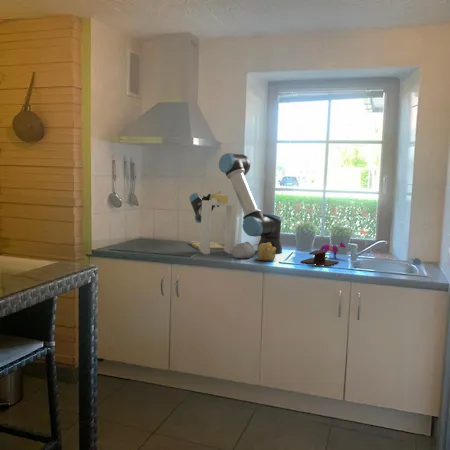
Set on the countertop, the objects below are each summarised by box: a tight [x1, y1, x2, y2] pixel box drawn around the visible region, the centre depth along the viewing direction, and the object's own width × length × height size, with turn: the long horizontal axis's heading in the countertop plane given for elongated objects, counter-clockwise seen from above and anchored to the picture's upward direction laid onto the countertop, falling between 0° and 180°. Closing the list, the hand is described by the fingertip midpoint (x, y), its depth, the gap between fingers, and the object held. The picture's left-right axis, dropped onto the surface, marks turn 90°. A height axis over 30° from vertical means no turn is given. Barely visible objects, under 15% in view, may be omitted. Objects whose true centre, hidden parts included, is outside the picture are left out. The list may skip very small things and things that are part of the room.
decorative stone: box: [231, 241, 256, 259], centre depth 268 cm, size 17×10×10 cm
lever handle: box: [300, 249, 340, 267], centre depth 259 cm, size 16×7×20 cm
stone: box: [256, 242, 276, 262], centre depth 261 cm, size 13×10×10 cm
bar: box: [210, 193, 229, 203], centre depth 277 cm, size 22×4×4 cm, turn 18°
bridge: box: [199, 198, 238, 255], centre depth 277 cm, size 10×18×32 cm, turn 108°
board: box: [188, 240, 224, 251], centre depth 298 cm, size 26×16×2 cm, turn 18°
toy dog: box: [319, 241, 347, 259], centre depth 280 cm, size 4×18×10 cm, turn 66°
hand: (216, 192), depth 281 cm, fingers closed on bar, 4 cm apart
